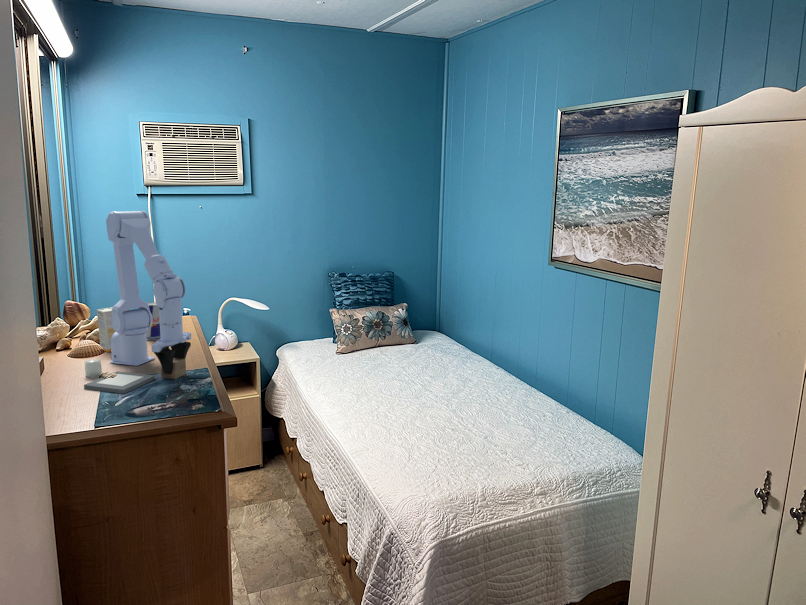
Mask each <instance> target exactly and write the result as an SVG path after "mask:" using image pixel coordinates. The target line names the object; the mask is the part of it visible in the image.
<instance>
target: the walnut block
mask: <svg viewBox="0 0 806 605" xmlns="http://www.w3.org/2000/svg"><path fill="white" fill-rule="evenodd" d="M160 368H161V370H160V371H161V378H162V379H171V380H177V378H178V379H179V377H180V378H182V377H184V376H186V375H187V364H186V358H185V359H184V358H173V371H172V374H164V372H163V369H162V366H161V365H160ZM185 374H186V375H185ZM183 375H184V376H183ZM181 376H182V377H181Z"/></svg>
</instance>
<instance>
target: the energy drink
mask: <svg viewBox="0 0 806 605" xmlns="http://www.w3.org/2000/svg"><path fill="white" fill-rule="evenodd" d="M147 303H148V305H149V309H150V312H151V314H152V324H151V326H150V328H148V329H149V331H146V335H147V341H149V342H150V341H153V342H154V341H158V340H159V339H161V336H160V319H159V307H157V304H156V302H147Z"/></svg>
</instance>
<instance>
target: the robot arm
mask: <svg viewBox="0 0 806 605" xmlns="http://www.w3.org/2000/svg"><path fill="white" fill-rule="evenodd" d="M105 224H106V231H107V237H108V241H110V242H111V243H112V244H113V252H114V259H115V267H116V276H117V282H118V292H119V297H120V299H119V300H118V301H117V302H116V303H115V304H114V305H113V306H111V307H112V318H111V323H112V327H113V329H114V330H115V331H116V332H115V333H114V334H113V335H112V338H111V351H110V352H111V360H110V361H109V363H110V364H116V365H117V364H118V365H126V366H127V365H128V366H135V367H137V366H141V365H143V364H146V363H147V362H150V361H152V360H155V356H156V357H157V359H158V361H159V363H160V367H161V366H162V369H163V372H164V374H172V371H173V358H184V359H185V360H186V359H187V354H188V352H189V349H190V348H191V346H192V345H191V344H192V343H191V342H189V340H190V341H191V340H192V333H191V332H187V331H185V332H184V329H183V310H182V298H184V297H185V295H186V285H185V282H184V280H183V279H182V278H181V277H179V276H178V275H177V274H176V273H174V272H173V270H172V268H171V266H170V264H169V262H168V260H167V259H166V256H164V255H162V254H159V252H158V249H157V246H156V245H155V242H154V240H153V238H152V234H151V233H150V231H151V219H150V217H149V214H148V213H147V212H146V211H145V210H133V211H131V210H130V211H129V210H128V211H127V210H126V211H115V210H112V211H109V213H108V215H107V217H106V219H105ZM134 244H135V246H137V248H138V250H139V251H140V252H141V255H143V257H144V259H145V261H144V264H143V266H144V268H145V270H146V272H147V274H148V276H149V278H150V280H151V282H152V283H153V288H152V292H153V295H154V298H155V303H156V304H157V307H159V319H160V336H161V339H159V340H156V341H155V343H152V344H151V353H152V352H153V354H154V355H155V356H148V355H149V354H148V352H149V350H148V340H147V335H146V331H149V329H148V328H150V326H151V324H152V314H151V312H150V309H149V305H148V303H149V302H146V301H145V300H143V299H141V298H140V297H141V296H140V290H139V282H138V275H137V274H138V273H137V267H136V260H135V252H134ZM127 309H129V310H127ZM125 310H127V311H125Z"/></svg>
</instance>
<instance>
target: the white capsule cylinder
mask: <svg viewBox="0 0 806 605" xmlns="http://www.w3.org/2000/svg"><path fill="white" fill-rule="evenodd" d="M84 373H85V377H86V378H95V377H100V376H101V375H100V374H101V373H102V374H103V370H102V360H101V359H100V358H90V359H87V360H84ZM99 375H100V376H99Z"/></svg>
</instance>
